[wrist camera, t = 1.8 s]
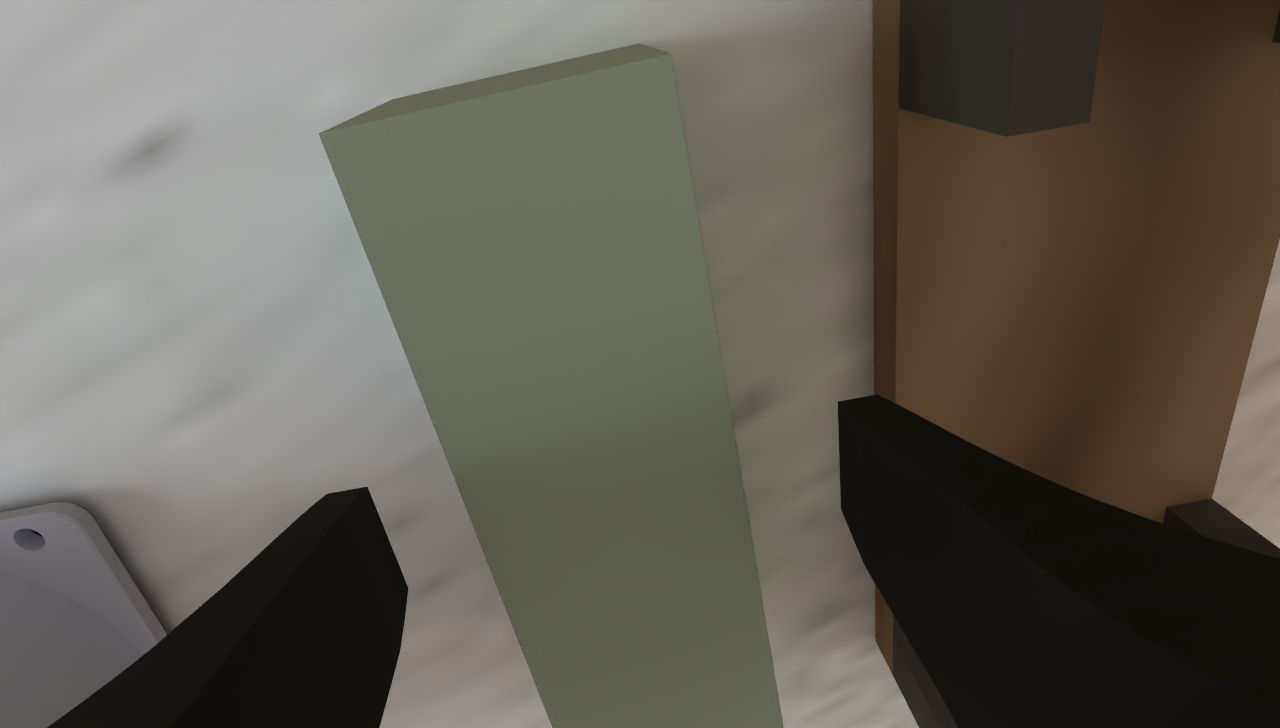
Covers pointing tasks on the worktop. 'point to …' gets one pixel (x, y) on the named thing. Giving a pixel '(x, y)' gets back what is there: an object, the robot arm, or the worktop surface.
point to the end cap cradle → (1075, 244)
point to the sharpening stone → (575, 377)
